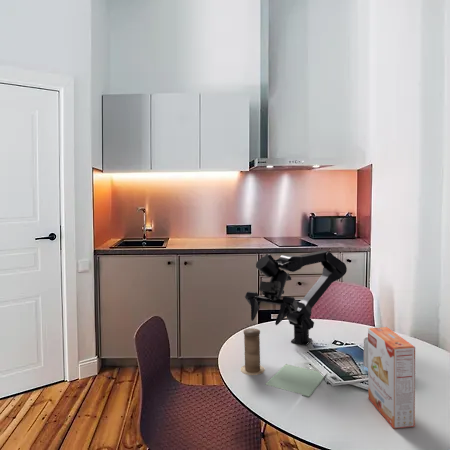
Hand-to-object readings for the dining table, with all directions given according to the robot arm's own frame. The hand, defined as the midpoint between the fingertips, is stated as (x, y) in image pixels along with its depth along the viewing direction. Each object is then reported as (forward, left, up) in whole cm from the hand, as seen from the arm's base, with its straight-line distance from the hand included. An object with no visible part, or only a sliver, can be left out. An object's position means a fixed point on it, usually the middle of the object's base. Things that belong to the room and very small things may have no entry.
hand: (263, 322), depth 135 cm
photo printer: (-13, +35, -14) cm, 40 cm away
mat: (+7, +15, -14) cm, 22 cm away
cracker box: (+12, +43, -14) cm, 47 cm away
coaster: (+8, 0, -14) cm, 16 cm away
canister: (+8, 0, -13) cm, 16 cm away
